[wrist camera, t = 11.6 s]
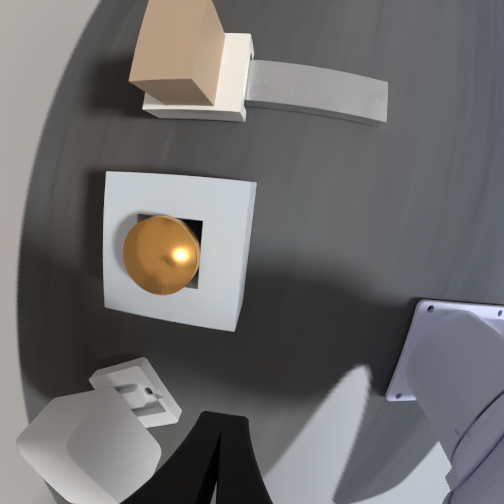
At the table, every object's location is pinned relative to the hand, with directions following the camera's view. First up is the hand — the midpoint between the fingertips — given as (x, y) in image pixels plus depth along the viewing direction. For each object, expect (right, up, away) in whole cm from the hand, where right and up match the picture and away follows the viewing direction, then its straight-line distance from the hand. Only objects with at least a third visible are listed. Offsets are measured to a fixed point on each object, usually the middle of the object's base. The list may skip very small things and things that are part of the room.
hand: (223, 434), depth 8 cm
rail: (+2, +15, +7) cm, 17 cm away
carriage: (-2, +15, +7) cm, 17 cm away
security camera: (-9, -5, +13) cm, 16 cm away
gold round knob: (-3, +6, +9) cm, 11 cm away
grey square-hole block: (-3, +7, +9) cm, 12 cm away
